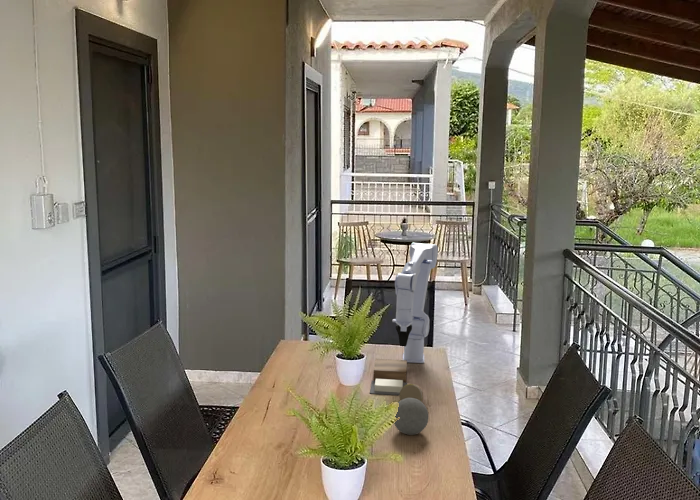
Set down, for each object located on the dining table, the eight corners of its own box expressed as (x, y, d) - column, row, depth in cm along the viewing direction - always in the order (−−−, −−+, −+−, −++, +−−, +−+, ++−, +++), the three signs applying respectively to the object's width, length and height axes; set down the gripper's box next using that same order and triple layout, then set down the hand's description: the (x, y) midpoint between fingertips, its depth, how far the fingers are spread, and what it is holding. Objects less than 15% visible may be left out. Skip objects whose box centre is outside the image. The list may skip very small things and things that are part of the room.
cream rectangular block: (374, 385, 211) (374, 391, 212) (402, 386, 211) (402, 392, 211) (375, 378, 217) (375, 384, 218) (402, 380, 217) (402, 385, 217)
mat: (371, 381, 221) (371, 380, 221) (407, 383, 220) (407, 382, 220) (369, 393, 210) (369, 392, 210) (407, 395, 209) (407, 395, 209)
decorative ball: (405, 422, 190) (407, 389, 188) (434, 432, 183) (436, 398, 182) (384, 433, 182) (385, 399, 180) (414, 444, 176) (415, 409, 174)
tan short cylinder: (428, 399, 208) (431, 378, 202) (415, 421, 201) (418, 401, 195) (407, 389, 211) (409, 369, 204) (393, 410, 204) (395, 390, 198)
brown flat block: (375, 369, 233) (375, 358, 232) (406, 371, 232) (406, 360, 231) (373, 381, 221) (373, 370, 220) (405, 383, 220) (406, 372, 219)
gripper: (393, 302, 234) (392, 339, 236) (392, 312, 219) (390, 351, 222) (413, 303, 233) (411, 340, 235) (413, 313, 219) (411, 352, 221)
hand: (403, 345), depth 228 cm, fingers closed
